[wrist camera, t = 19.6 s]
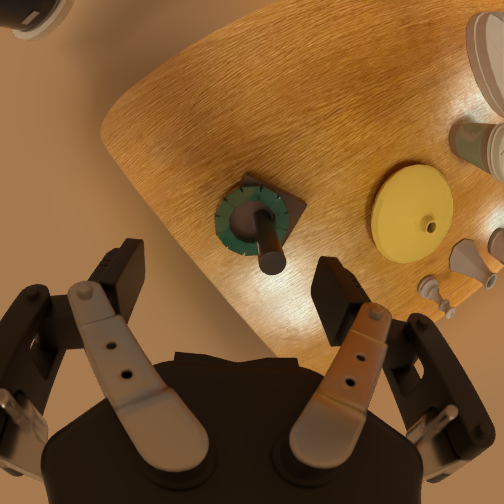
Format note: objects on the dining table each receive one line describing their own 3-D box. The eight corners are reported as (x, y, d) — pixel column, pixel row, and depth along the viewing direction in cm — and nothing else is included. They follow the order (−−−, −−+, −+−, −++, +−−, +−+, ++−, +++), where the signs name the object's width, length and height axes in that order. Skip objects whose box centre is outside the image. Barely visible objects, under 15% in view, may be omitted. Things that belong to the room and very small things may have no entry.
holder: (216, 230, 39) (209, 283, 27) (245, 171, 35) (251, 201, 24) (273, 254, 41) (288, 312, 30) (305, 201, 38) (336, 243, 26)
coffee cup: (473, 114, 31) (525, 126, 21) (475, 162, 35) (524, 182, 25) (440, 114, 32) (495, 124, 21) (444, 166, 36) (495, 189, 25)
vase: (374, 269, 44) (393, 293, 37) (350, 181, 37) (372, 196, 30) (446, 232, 41) (469, 250, 35) (433, 147, 34) (463, 157, 28)
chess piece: (421, 275, 45) (449, 308, 36) (437, 274, 45) (466, 304, 37) (414, 295, 47) (440, 328, 38) (430, 293, 48) (456, 324, 39)
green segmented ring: (204, 232, 37) (202, 237, 36) (236, 170, 34) (236, 173, 32) (264, 259, 40) (266, 266, 38) (299, 203, 36) (302, 208, 35)
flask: (475, 234, 42) (507, 259, 33) (469, 265, 45) (498, 292, 37) (450, 242, 42) (483, 270, 34) (446, 274, 46) (474, 304, 37)
